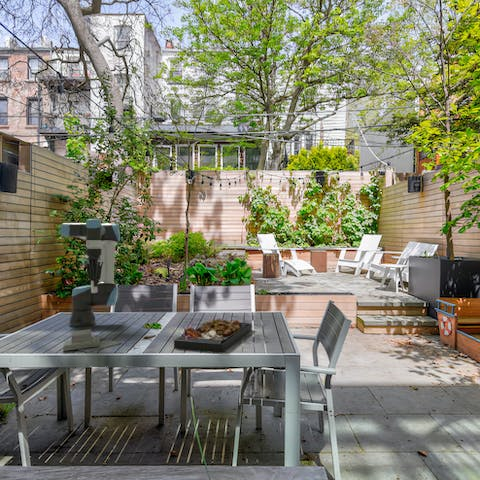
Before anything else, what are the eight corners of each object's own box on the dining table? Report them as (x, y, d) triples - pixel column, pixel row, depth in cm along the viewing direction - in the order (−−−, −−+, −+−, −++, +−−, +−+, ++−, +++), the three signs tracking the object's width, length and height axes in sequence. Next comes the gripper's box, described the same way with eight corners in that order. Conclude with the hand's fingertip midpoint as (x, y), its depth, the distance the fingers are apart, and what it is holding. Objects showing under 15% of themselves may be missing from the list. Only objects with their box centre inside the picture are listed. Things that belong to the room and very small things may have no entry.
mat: (75, 349, 172) (75, 348, 172) (108, 340, 187) (108, 339, 187) (87, 352, 167) (87, 351, 167) (120, 343, 181) (120, 342, 181)
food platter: (222, 354, 165) (222, 331, 165) (174, 349, 173) (174, 327, 173) (251, 331, 208) (251, 313, 208) (211, 328, 216) (211, 310, 216)
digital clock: (62, 344, 177) (61, 357, 168) (65, 327, 175) (64, 340, 166) (97, 345, 184) (98, 357, 175) (101, 329, 183) (102, 341, 173)
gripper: (80, 248, 195) (80, 292, 195) (94, 248, 187) (95, 294, 188) (93, 247, 201) (93, 290, 201) (107, 248, 193) (107, 292, 194)
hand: (94, 292), depth 195 cm, fingers closed
